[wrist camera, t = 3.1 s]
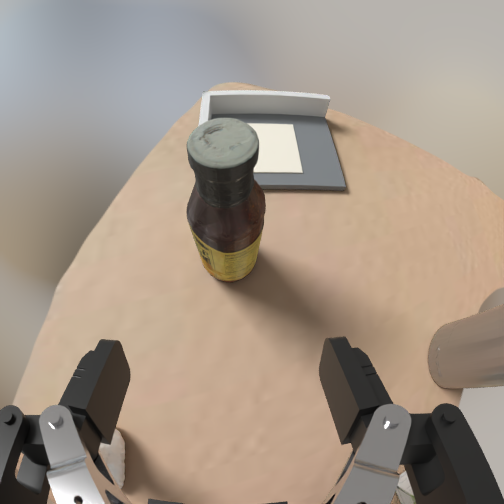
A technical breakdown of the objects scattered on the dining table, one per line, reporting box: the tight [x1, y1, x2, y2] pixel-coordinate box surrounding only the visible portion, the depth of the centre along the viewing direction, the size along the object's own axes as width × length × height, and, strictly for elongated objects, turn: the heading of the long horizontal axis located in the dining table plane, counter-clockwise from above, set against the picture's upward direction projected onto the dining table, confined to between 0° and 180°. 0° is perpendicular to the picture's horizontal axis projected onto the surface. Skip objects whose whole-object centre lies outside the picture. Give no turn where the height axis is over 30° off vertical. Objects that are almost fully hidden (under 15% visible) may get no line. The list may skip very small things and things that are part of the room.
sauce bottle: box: [187, 118, 266, 282], centre depth 24 cm, size 6×6×20 cm
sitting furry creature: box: [99, 429, 125, 489], centre depth 18 cm, size 10×9×12 cm
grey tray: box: [199, 90, 346, 191], centre depth 38 cm, size 20×16×5 cm
